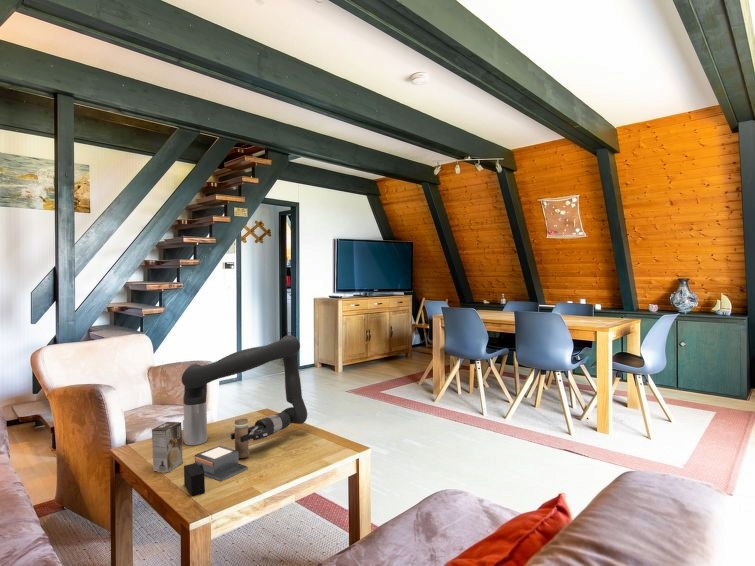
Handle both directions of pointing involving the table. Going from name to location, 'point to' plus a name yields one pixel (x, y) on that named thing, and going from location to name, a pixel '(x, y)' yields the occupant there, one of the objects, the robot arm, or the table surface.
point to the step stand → (220, 463)
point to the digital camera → (194, 479)
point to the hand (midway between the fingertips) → (236, 438)
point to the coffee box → (167, 446)
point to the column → (240, 430)
